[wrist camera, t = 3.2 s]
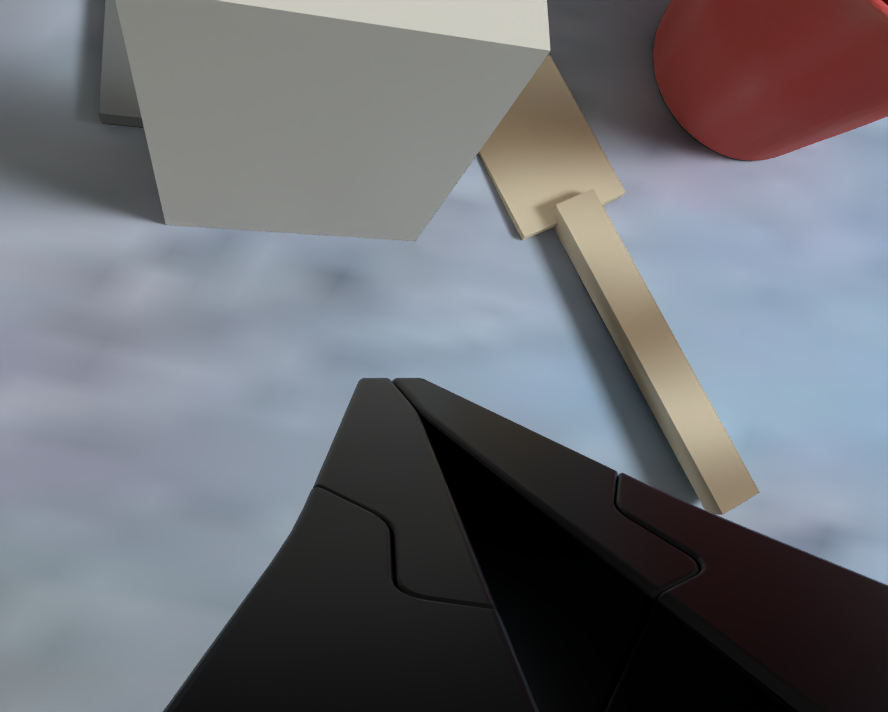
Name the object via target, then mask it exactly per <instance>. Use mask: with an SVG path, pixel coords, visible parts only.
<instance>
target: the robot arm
mask: <svg viewBox="0 0 888 712" xmlns="http://www.w3.org/2000/svg"><path fill="white" fill-rule="evenodd" d="M163 712H888V585H886V584H883V583H881V582H878V581H876V580H873V579H871V578H869V577H866V576H864V575H861V574H859V573H856V572H854V571H851V570H849V569H846V568H844V567H842V566H839V565H837V564H834V563H832V562H829V561H827V560H824V559H822V558H819V557H817V556H815V555H812V554H810V553H807V552H805V551H802V550H800V549H797V548H795V547H793V546H790V545H788V544H785V543H783V542H780V541H778V540H775V539H773V538H770V537H768V536H766V535H763V534H761V533H758V532H756V531H753V530H751V529H748V528H746V527H743V526H741V525H739V524H736V523H734V522H731V521H729V520H727V519H724V518H722V517H720V516H717V515H715V514H712V513H710V512H708V511H705V510H703V509H701V508H698V507H696V506H694V505H691V504H689V503H687V502H684V501H682V500H680V499H678V498H676V497H673V496H671V495H669V494H667V493H665V492H662V491H660V490H658V489H656V488H654V487H651V486H649V485H647V484H645V483H643V482H641V481H639V480H637V479H635V478H632V477H630V476H628V475H626V474H624V473H620V474H619V475H618V473H617V471H615V470H613V469H611V468H609V467H607V466H605V465H603V464H601V463H598V462H596V461H594V460H592V459H590V458H588V457H586V456H584V455H582V454H580V453H578V452H575V451H573V450H571V449H569V448H567V447H565V446H563V445H561V444H559V443H557V442H554V441H552V440H550V439H548V438H546V437H544V436H542V435H540V434H538V433H536V432H534V431H531V430H529V429H527V428H525V427H523V426H521V425H519V424H517V423H515V422H513V421H511V420H508V419H506V418H504V417H502V416H500V415H498V414H496V413H494V412H492V411H490V410H488V409H485V408H483V407H481V406H479V405H477V404H475V403H473V402H471V401H469V400H467V399H464V398H462V397H460V396H458V395H456V394H454V393H452V392H450V391H448V390H446V389H444V388H441V387H439V386H437V385H435V384H433V383H431V382H429V381H427V380H425V379H421V378H396V379H394V380H393V381H391V380H390V379H388V378H362V379H361V380H360V381H359V382H358V384H357V386H356V389H355V391H354V393H353V396H352V398H351V400H350V403H349V405H348V407H347V410H346V412H345V414H344V417H343V419H342V421H341V424H340V426H339V428H338V431H337V433H336V435H335V438H334V440H333V442H332V445H331V447H330V449H329V452H328V454H327V456H326V459H325V461H324V463H323V466H322V468H321V470H320V473H319V475H318V477H317V480H316V482H315V484H314V487H313V489H312V490H311V492H310V494H309V496H308V499H307V501H306V503H305V506H304V508H303V510H302V512H301V514H300V516H299V517H298V519H297V521H296V523H295V525H294V527H293V529H292V531H291V533H290V534H289V536H288V537H287V539H286V541H285V542H284V544H283V545H282V547H281V548H280V550H279V551H278V553H277V554H276V556H275V557H274V559H273V560H272V562H271V563H270V565H269V566H268V567H267V569H266V570H265V571H264V573H263V574H262V576H261V577H260V578H259V580H258V581H257V582H256V584H255V585H254V587H253V588H252V589H251V591H250V592H249V594H248V595H247V596H246V598H245V599H244V600H243V602H242V603H241V605H240V606H239V607H238V609H237V610H236V611H235V613H234V614H233V616H232V617H231V618H230V620H229V621H228V623H227V624H226V625H225V627H224V628H223V629H222V631H221V632H220V634H219V635H218V636H217V638H216V639H215V640H214V642H213V643H212V645H211V646H210V647H209V649H208V650H207V652H206V653H205V654H204V656H203V657H202V658H201V660H200V661H199V663H198V664H197V665H196V667H195V668H194V669H193V671H192V672H191V674H190V675H189V676H188V678H187V679H186V681H185V682H184V683H183V685H182V686H181V687H180V689H179V690H178V692H177V693H176V694H175V696H174V697H173V698H172V700H171V701H170V703H169V704H168V705H167V707H166V708H165V709H164V711H163Z"/></svg>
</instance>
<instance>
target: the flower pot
mask: <svg viewBox="0 0 888 712" xmlns="http://www.w3.org/2000/svg"><path fill="white" fill-rule="evenodd" d="M653 62H654V71H655V76H656V80H657V83H658V86H659V89H660V91H661V94H662V96H663V98H664V100H665V102H666V104H667V106H668V108H669V109H670V111H671V112H672V114H673V115H674V117H675V118H676V119H677V121H678V122H679V123H680V124H681V125H682V127H683V128H684V129H685V130H686V131H687V132H689V133H690V134H691V135H692V136H693V137H694V138H695V139H697V140H698V141H699V142H700V143H702V144H703V145H705V146H707V147H708V148H710V149H712V150H714V151H716V152H718V153H720V154H722V155H725V156H727V157H731V158H734V159H740V160H748V161H756V160H765V159H770V158H775V157H778V156H781V155H784V154H786V153H789V152H792V151H794V150H797V149H800V148H802V147H805V146H808V145H811V144H813V143H816V142H819V141H822V140H825V139H828V138H830V137H833V136H836V135H839V134H842V133H844V132H847V131H850V130H853V129H856V128H858V127H861V126H864V125H866V124H869V123H872V122H874V121H877V120H879V119H882V118H885V117H887V116H888V0H671V2H670V4H669V6H668V8H667V9H666V11H665V13H664V15H663V17H662V18H661V20H660V23H659V25H658V28H657V31H656V36H655V41H654V47H653Z"/></svg>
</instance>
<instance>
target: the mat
mask: <svg viewBox="0 0 888 712" xmlns="http://www.w3.org/2000/svg"><path fill="white" fill-rule="evenodd" d="M99 116H100V119H101V122H102V123H106V124H116V125H126V126H136V127H144V126H143V122H142V117H141V113H140V108H139V104H138V99H137V95H136V90H135V86H134V82H133V77H132V73H131V68H130V64H129V59H128V55H127V51H126V46H125V42H124V37H123V33H122V28H121V24H120V20H119V15H118V11H117V6H116V2H115V0H105V17H104V34H103V50H102V67H101V84H100V100H99Z"/></svg>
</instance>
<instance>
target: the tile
mask: <svg viewBox="0 0 888 712" xmlns="http://www.w3.org/2000/svg"><path fill="white" fill-rule="evenodd" d="M115 2H116V6H117V11H118V15H119V20H120V24H121V28H122V33H123V37H124V42H125V46H126V51H127V55H128V59H129V64H130V68H131V73H132V77H133V82H134V86H135V90H136V95H137V99H138V104H139V108H140V113H141V117H142V122H143V126H144V130H145V135H146V139H147V144H148V148H149V153H150V157H151V161H152V166H153V170H154V175H155V179H156V184H157V188H158V192H159V197H160V201H161V206H162V210H163V215H164V219H165V223H166V225H175V226H190V227H205V228H220V229H236V230H251V231H266V232H281V233H297V234H312V235H327V236H342V237H357V238H373V239H388V240H403V241H416V240H417V239H418V237H419V236H420V235H421V233H422V232H423V230H424V229H425V228H426V226H427V225H428V223H429V222H430V221H431V219H432V218H433V216H434V215H435V213H436V212H437V211H438V209H439V208H440V206H441V205H442V204H443V202H444V201H445V199H446V198H447V196H448V195H449V194H450V192H451V191H452V189H453V188H454V187H455V185H456V184H457V182H458V181H459V179H460V178H461V177H462V175H463V174H464V172H465V171H466V170H467V168H468V167H469V165H470V164H471V162H472V161H473V160H474V158H475V157H476V155H477V154H478V153H479V151H480V150H481V148H482V147H483V145H484V144H485V143H486V141H487V140H488V138H489V137H490V136H491V134H492V133H493V131H494V130H495V128H496V127H497V126H498V124H499V123H500V121H501V120H502V119H503V117H504V116H505V114H506V113H507V112H508V110H509V109H510V107H511V106H512V104H513V103H514V102H515V100H516V99H517V97H518V96H519V95H520V93H521V92H522V90H523V89H524V87H525V86H526V85H527V83H528V82H529V80H530V79H531V78H532V76H533V75H534V73H535V72H536V70H537V69H538V68H539V66H540V65H541V63H542V62H543V61H544V59H545V58H546V56H547V55H548V53H549V52H550V37H549V23H548V9H547V0H115Z"/></svg>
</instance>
